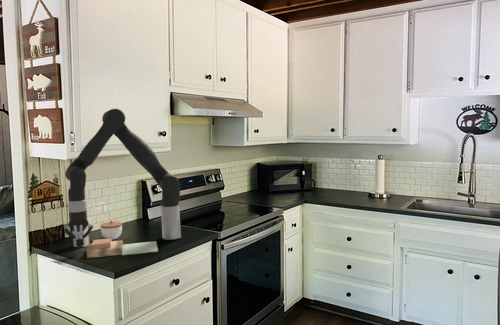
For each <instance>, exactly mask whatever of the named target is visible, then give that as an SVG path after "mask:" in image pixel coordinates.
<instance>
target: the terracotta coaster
mask: <svg viewBox="0 0 500 325" xmlns="http://www.w3.org/2000/svg"><path fill="white" fill-rule="evenodd" d="M112 241H113V240H111V238H109V239H106V238H99V239H93V241H92V249H102V248H111V243H112Z"/></svg>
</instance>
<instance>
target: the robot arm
mask: <svg viewBox="0 0 500 325" xmlns="http://www.w3.org/2000/svg"><path fill="white" fill-rule="evenodd" d="M101 121H102V124H101V126H100V128H99V130H98V131H97V132H96V133H95V134H94V135H93V136H92V138H91V139H90V140H89V141H88V142H87V143H86V145H85V146H84V147H83V149H82V150H81V151H80V153H79V154H78V156H77V157H76V158H75V159H74V160H73V161H72V162H71V163H70V165H68V167H67V168H66V169H65V173H64V175H65V178H66V180H68V181H69V189H68V190H67V195H68V220H69V223H67V224H68V225H67V226H66V227H64V229H63V231H64V232H65V233H66V234H67V235H68V236H69V238H71V239H76V245H77V246H78V247H77V248H83V247H82V246H83V244H84V243H83V238H86V237H87V235H88V236H89V234H90V232H92V230H93V228H94V225H93V224H90V222H89V221H88V211H87V202H86V192H85V191H86V190H85V188H86V184H87V174H86V169H87V168H88V167H90V166H92V165H93V164H94V162H95V161H96V159H97V158H98V156H99V155H100V154H101V152H102V151H103V149H104V147H105V146H106V145H107V143H108V142H109V140H110V139H112V138H111V137H113V135H114V136H115V137H116V138H117V139H118V140H119V141H120V142H121V143H122V145H123V147H125V149H126V150H127V151H128V152H129V154H131V156H132V157H133V158H134V159H135V160H136V162H138V164H139V165H140V166H141V167H142V168H143V169H144V170H145V171H147V172H148V173H149V174H150V175H151V177H152V178H153V179H154V181H155V182H156V184H157V186H158V187H159V188H160V189H161V195H162V197H161V200H160V211H161V212H160V213H161V231H162V232H161V234H162V239H163V240H169V241H170V240H171V241H172V240H177V239H181V238H182V235H181V234H182V231H181V220H180V219H181V218H180V217H181V216H180V200H181V183H180V180H179V177H177V176H175V175H173V174H171V173H170V172H168V171H167V170H166V168H165V167H164V166H163V165H162V163H160V161H159V159H158V157H157V155H156V153H155V152H154V150H153V149H152V148H151V146H150V145H148V143H147V142H146V141H145V140H144V139H143V138H141V137H140V136H139V135H137V134H136V133H135V132H133V131H132V130H131V129H130V128H129V127H128V125H127V124H126V123H125V122H126V115H125V113H124V111H122V110H121V109H119V108H111V109H109V110H107V111H104V113H103V115H102V119H101ZM87 226H88V231H87V232H86V233H85V234H84V235H83V231H84V230H85V229H86V227H87ZM73 231H74V232H75V235H74V234H73ZM79 232H80V238H79Z"/></svg>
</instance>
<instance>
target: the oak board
mask: <svg viewBox="0 0 500 325" xmlns="http://www.w3.org/2000/svg"><path fill="white" fill-rule="evenodd" d="M111 241H112V243H111V248H102V249H92V243H93V242H92V243H91V242H89V245H88V246H87V249H86V259H91V258H101V257H109V256H110V257H113V256H119V255H120V256H122V250H123V245H124V240H121V239H120V240H111Z"/></svg>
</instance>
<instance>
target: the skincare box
mask: <svg viewBox="0 0 500 325" xmlns="http://www.w3.org/2000/svg"><path fill="white" fill-rule="evenodd" d="M87 231H88V226H87V227H86V229H85V230H84V231H83V235H84V234H85V233H86V232H87ZM72 233H73V234H74V235H75V232H74V231H73V230H72ZM89 237H90V236H89V234H88V235H87V237H86V238H83V243H84V244H83V246H82V247H81V248H86V247H89V244H90V238H89ZM79 238H80V232H79ZM73 247H75V248H79V247H78V246H77V245H76V239H73Z"/></svg>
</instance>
